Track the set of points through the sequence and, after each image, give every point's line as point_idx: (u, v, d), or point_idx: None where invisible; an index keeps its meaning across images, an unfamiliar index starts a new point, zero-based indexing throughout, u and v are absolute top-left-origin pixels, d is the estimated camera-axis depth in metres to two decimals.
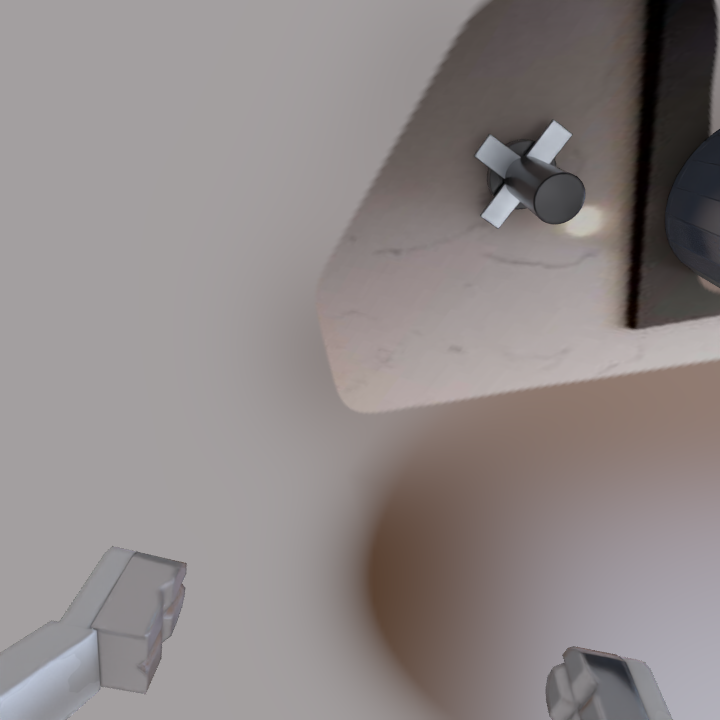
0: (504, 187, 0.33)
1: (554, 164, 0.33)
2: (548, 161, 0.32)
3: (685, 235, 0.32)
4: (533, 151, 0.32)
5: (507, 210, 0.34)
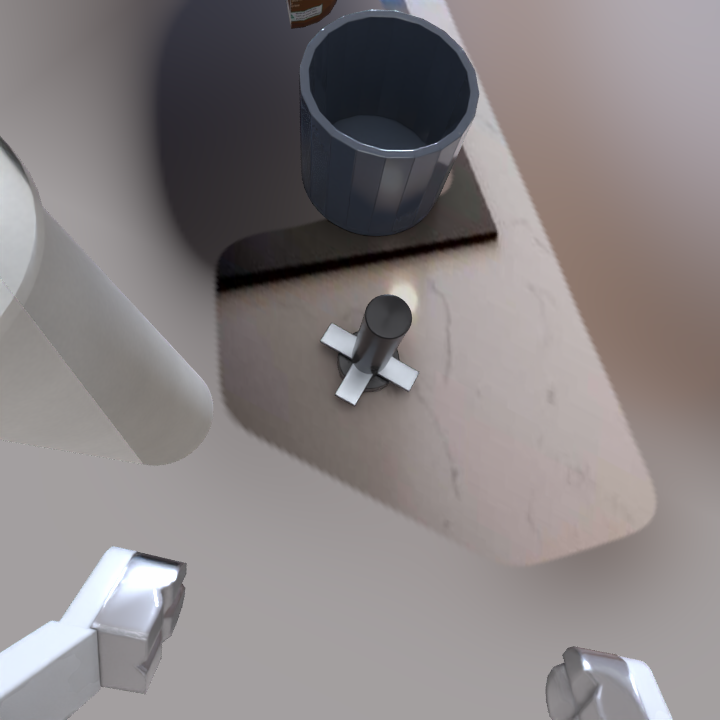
0: (380, 373, 0.34)
1: (357, 332, 0.35)
2: (355, 338, 0.35)
3: (407, 212, 0.36)
4: (347, 352, 0.34)
5: (401, 366, 0.34)
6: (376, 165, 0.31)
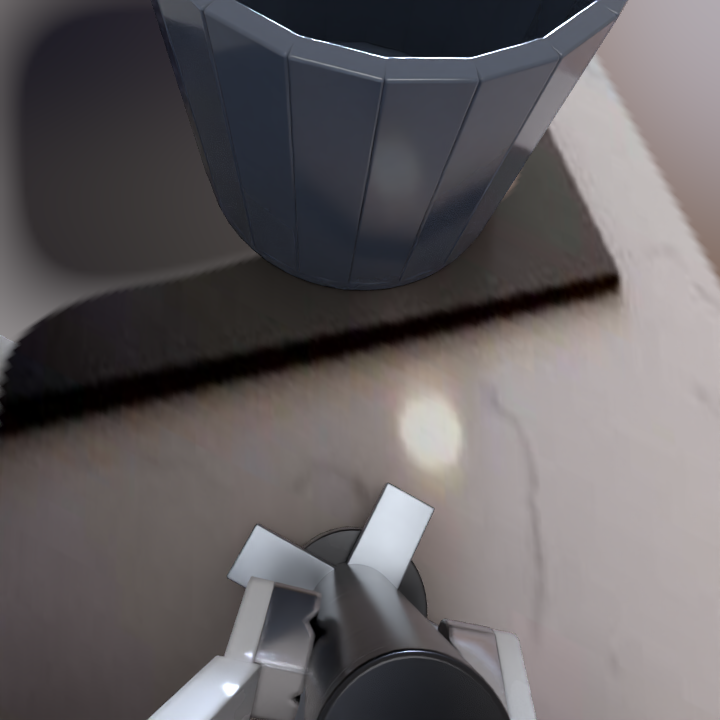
0: None
1: (322, 540, 0.14)
2: (315, 564, 0.14)
3: (437, 242, 0.16)
4: None
5: None
6: (356, 111, 0.10)
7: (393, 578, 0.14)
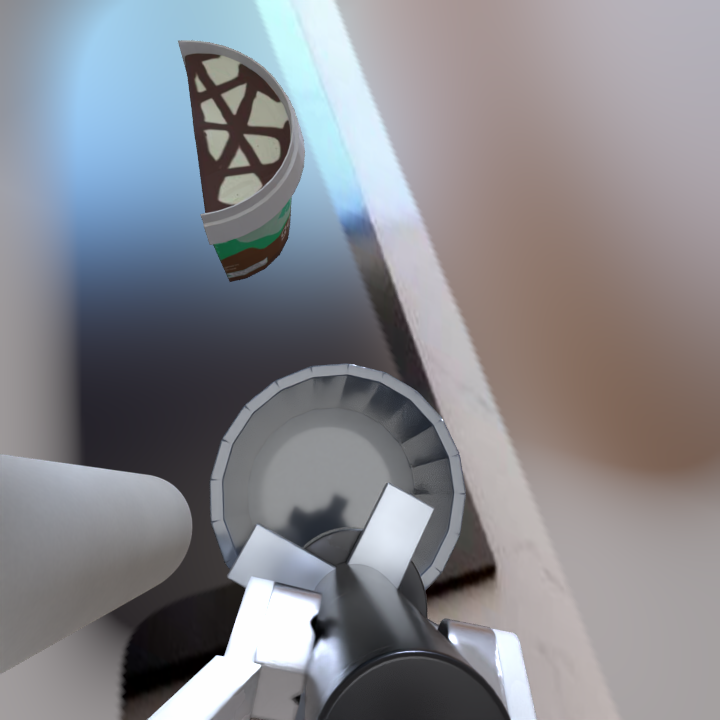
0: None
1: (322, 540, 0.14)
2: (315, 565, 0.14)
3: None
4: None
5: None
6: None
7: (393, 578, 0.14)
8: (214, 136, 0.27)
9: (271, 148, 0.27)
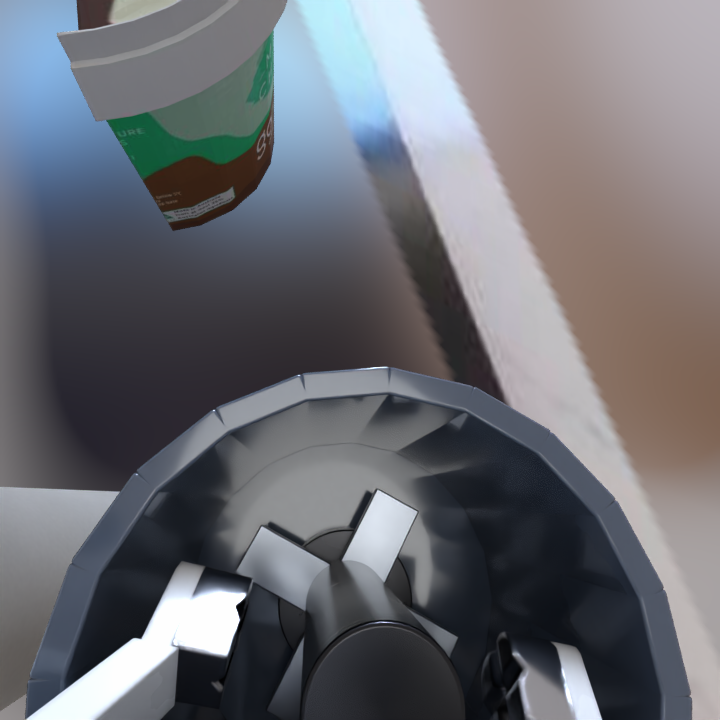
0: None
1: (319, 539, 0.16)
2: (313, 561, 0.16)
3: None
4: (295, 599, 0.15)
5: None
6: None
7: (382, 573, 0.16)
8: None
9: None
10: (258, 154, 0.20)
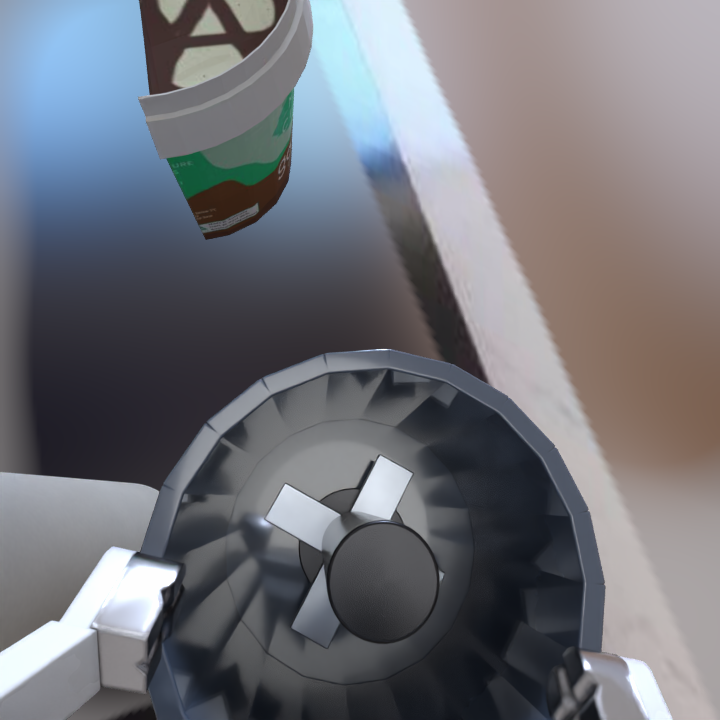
0: None
1: (332, 495, 0.20)
2: (327, 511, 0.19)
3: None
4: (313, 541, 0.19)
5: None
6: None
7: None
8: None
9: (260, 9, 0.17)
10: (279, 175, 0.24)
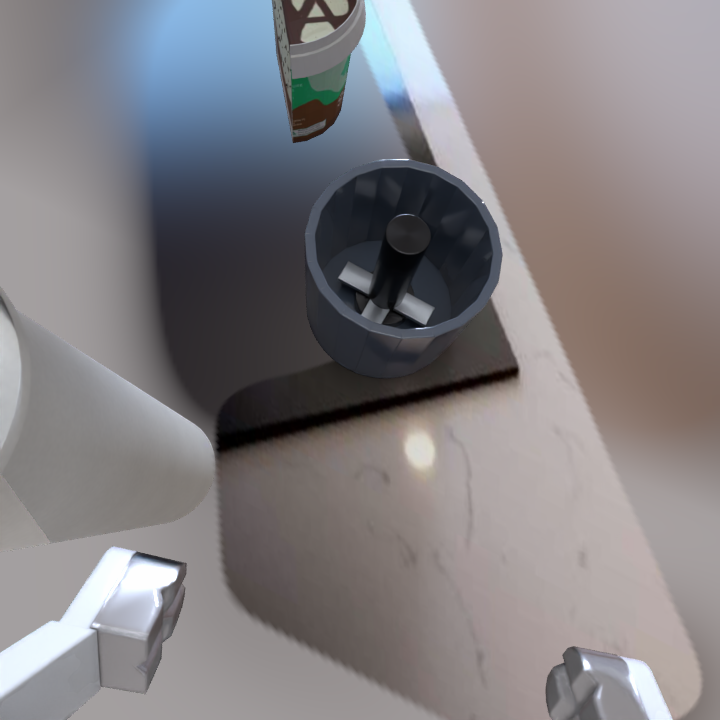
0: (397, 308, 0.35)
1: (373, 271, 0.36)
2: (371, 275, 0.35)
3: (422, 362, 0.34)
4: (364, 289, 0.35)
5: (417, 302, 0.35)
6: (391, 341, 0.28)
7: None
8: None
9: (341, 4, 0.33)
10: (338, 103, 0.40)
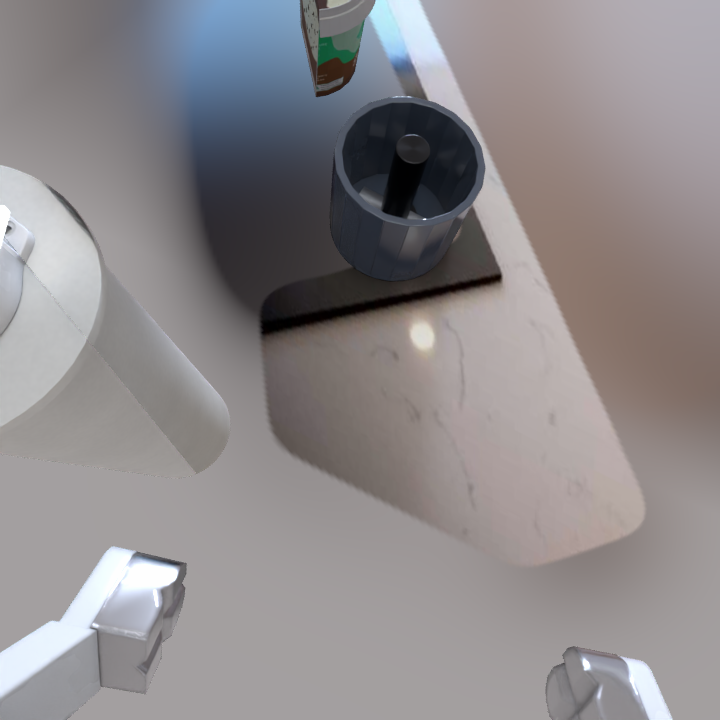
0: None
1: (383, 196, 0.45)
2: (382, 197, 0.44)
3: (424, 262, 0.42)
4: (377, 208, 0.44)
5: (419, 218, 0.44)
6: (400, 231, 0.36)
7: None
8: None
9: None
10: (353, 63, 0.49)
